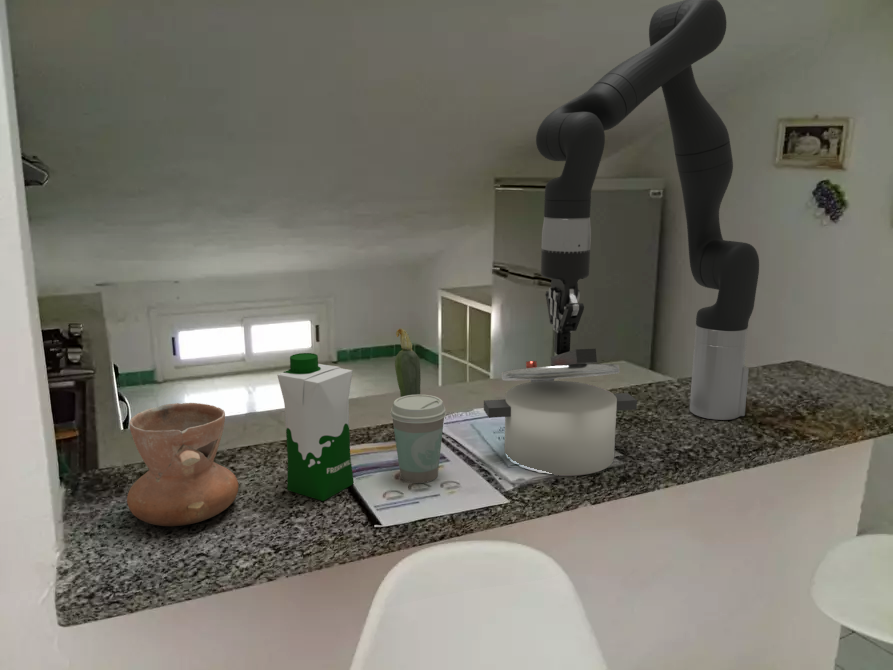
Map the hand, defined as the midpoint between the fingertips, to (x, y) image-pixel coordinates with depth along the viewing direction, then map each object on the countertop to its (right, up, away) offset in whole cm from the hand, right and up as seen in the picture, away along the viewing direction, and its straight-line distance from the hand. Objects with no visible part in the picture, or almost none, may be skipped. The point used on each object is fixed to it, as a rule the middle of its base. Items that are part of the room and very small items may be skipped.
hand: (561, 354), depth 116 cm
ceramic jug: (-55, -22, -15) cm, 61 cm away
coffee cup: (-23, -19, -4) cm, 30 cm away
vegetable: (-25, -15, +11) cm, 32 cm away
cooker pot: (0, -17, +4) cm, 17 cm away
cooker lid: (0, -4, +1) cm, 4 cm away
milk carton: (-37, -20, -8) cm, 43 cm away
